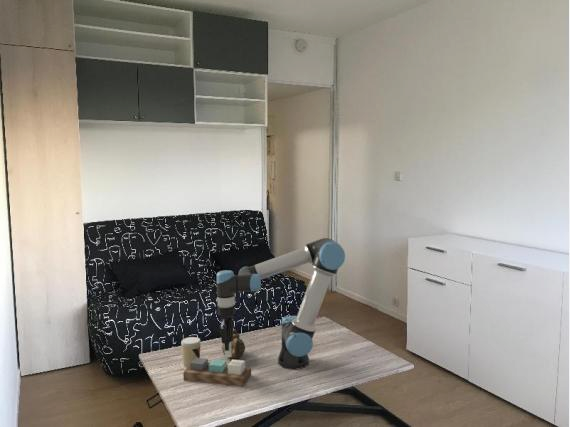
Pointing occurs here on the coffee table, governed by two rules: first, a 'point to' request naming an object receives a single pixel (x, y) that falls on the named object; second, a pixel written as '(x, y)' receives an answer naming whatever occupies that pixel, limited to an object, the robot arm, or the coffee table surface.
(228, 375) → the frame
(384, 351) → the coffee table surface
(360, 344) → the coffee table surface
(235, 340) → the carved stone sculpture
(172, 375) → the coffee table surface
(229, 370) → the white key
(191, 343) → the coffee cup
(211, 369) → the teal key
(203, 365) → the charcoal key
